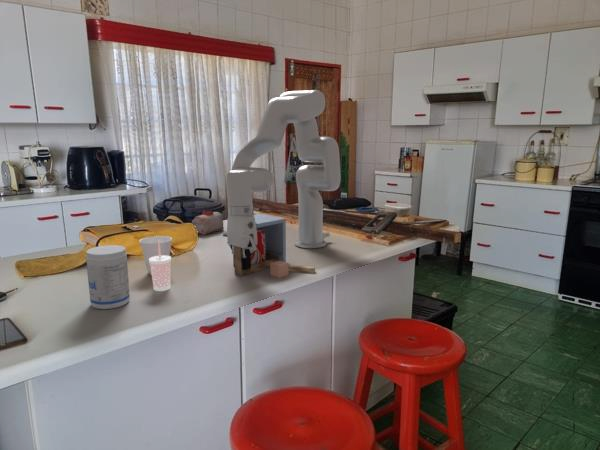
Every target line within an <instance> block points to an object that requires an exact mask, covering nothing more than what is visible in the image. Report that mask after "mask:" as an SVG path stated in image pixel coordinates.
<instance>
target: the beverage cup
mask: <svg viewBox="0 0 600 450" xmlns="http://www.w3.org/2000/svg"><path fill="white" fill-rule="evenodd" d="M158 249H159V256H154V257H151V258H149V263H150V266H151V273H152V275H151V279H152V287H153V290H154V291H156V292H164V291H167V290H169V289H171V262H172V256H171V255H170V256H167V255H161V252H160V241H158Z"/></svg>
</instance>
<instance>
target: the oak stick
mask: <svg viewBox="0 0 600 450" xmlns="http://www.w3.org/2000/svg"><path fill="white" fill-rule="evenodd" d="M288 272H297V273H307V274H308V273H309V274H315V272H316V267H315V266H307V265H295V264H288Z"/></svg>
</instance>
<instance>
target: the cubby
mask: <svg viewBox="0 0 600 450" xmlns="http://www.w3.org/2000/svg"><path fill="white" fill-rule="evenodd" d="M253 215H254V218H255V222H256V227H258V228H263V231H264V233H265V248H266V250H267V251H270V252H274V253H277V254H281V255H283V261H284V262H287V246H286V245H287V244H286V243H287V242H286V241H287V239H286V238H287V237H286V235H287V234H286V233H287V232H286V231H287V228H286V227H287V226H286V224H287V223H286V218H283V217H279V216H274V215H268V214H264V213H257V214H253Z"/></svg>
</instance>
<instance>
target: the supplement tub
mask: <svg viewBox="0 0 600 450" xmlns="http://www.w3.org/2000/svg"><path fill="white" fill-rule="evenodd" d="M85 252H86V253H85V254H86V256H85V259H86V261H85V262H86V270H87V280H88V281H87V282H88V292H89V303H90V306H91V307H93V308H94V309H99V310H110V309H111V310H112V309H116V308H120V307H123V306H125V305H126V304H128V302H130V299H131V298H130V296H131V295H130V285H129V284H130V281H129V269H128V268H129V267H128V255H127V254H128V253H127V250H126V247H125V246H123V245H115V244H109V245H99V246H95V247H91V248H89V249H87V250H86V251H85Z"/></svg>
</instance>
